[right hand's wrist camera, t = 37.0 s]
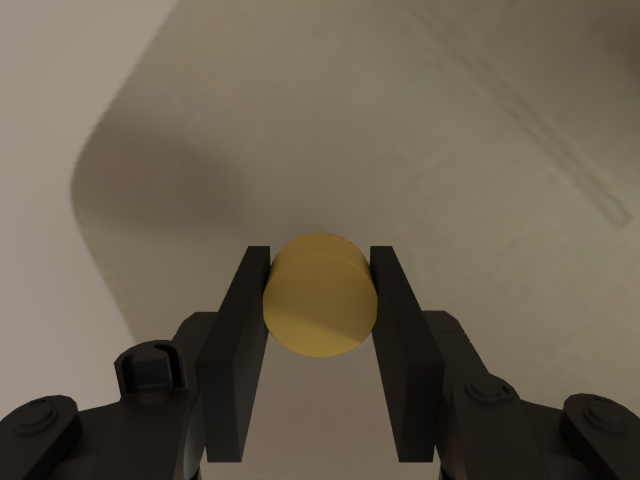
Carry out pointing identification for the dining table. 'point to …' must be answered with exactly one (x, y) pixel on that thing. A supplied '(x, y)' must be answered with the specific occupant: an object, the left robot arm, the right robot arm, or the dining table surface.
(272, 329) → the cap
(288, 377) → the dining table surface
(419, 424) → the right robot arm
